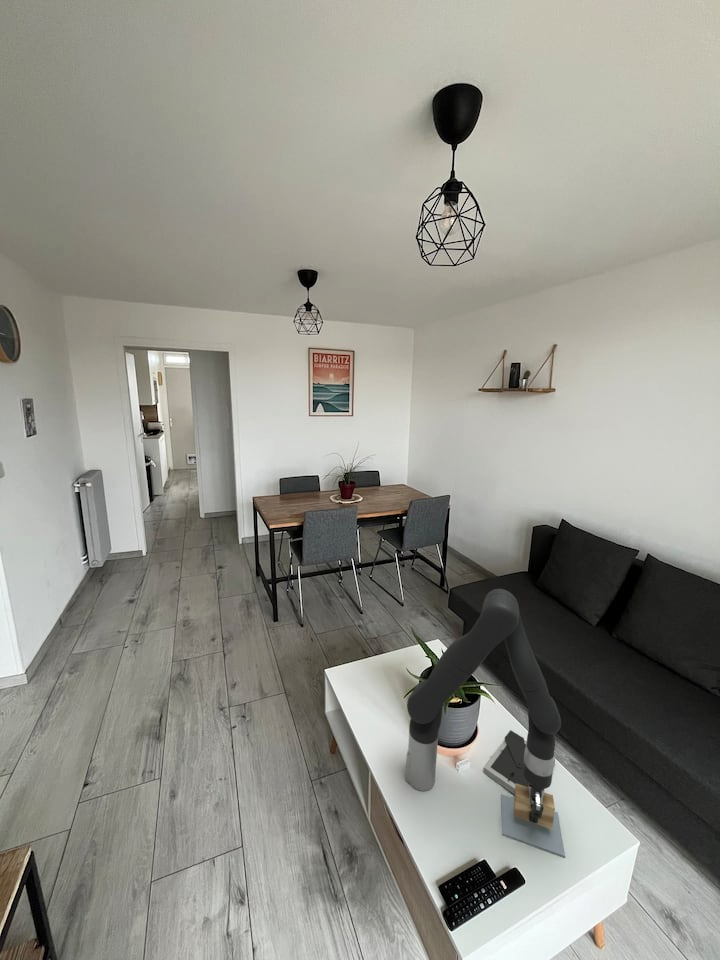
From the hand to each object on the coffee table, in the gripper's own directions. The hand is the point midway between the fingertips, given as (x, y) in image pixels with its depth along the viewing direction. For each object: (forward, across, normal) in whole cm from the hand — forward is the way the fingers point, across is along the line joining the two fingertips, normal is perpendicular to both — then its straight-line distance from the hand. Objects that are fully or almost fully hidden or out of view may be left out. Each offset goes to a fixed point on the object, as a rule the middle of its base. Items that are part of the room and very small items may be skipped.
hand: (532, 813), depth 109 cm
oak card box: (+1, 0, 0) cm, 1 cm away
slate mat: (+4, 0, 0) cm, 4 cm away
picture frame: (+4, +18, +2) cm, 19 cm away
